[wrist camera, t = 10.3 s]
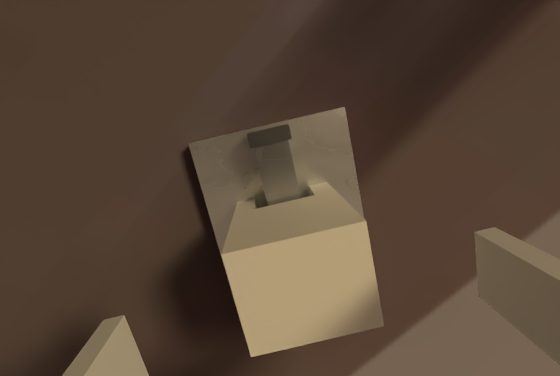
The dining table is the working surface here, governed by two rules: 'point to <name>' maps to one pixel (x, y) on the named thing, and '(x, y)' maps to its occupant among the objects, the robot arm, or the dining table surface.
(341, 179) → the rail board
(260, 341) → the block
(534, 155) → the dining table surface
